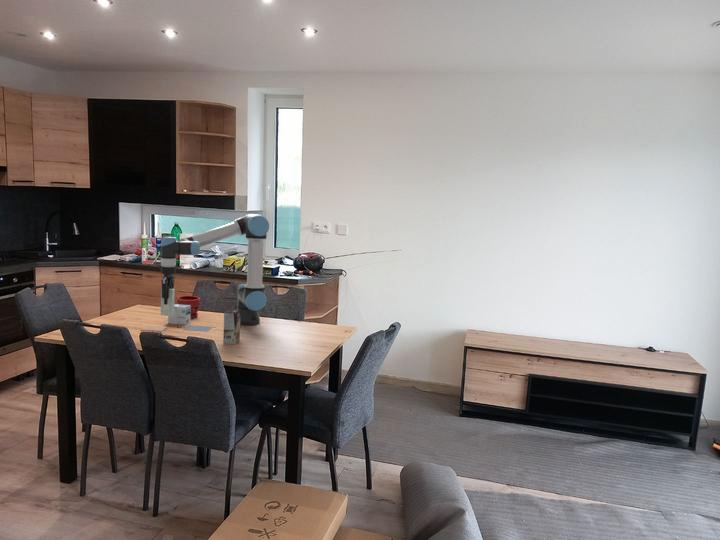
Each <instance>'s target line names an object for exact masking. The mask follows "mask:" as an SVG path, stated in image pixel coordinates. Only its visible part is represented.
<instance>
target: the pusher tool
mask: <svg viewBox="0 0 720 540" xmlns="http://www.w3.org/2000/svg"><path fill="white" fill-rule="evenodd" d="M175 293H176V292H175V288H174V289H169V311H166V310H163V308H164V298H162V288H161V289H160V316H163V317H166V316H167V317H168V316H173V315H174V304H175Z"/></svg>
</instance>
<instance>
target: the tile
mask: <svg viewBox="0 0 720 540" xmlns="http://www.w3.org/2000/svg"><path fill="white" fill-rule="evenodd" d="M167 329H168V326H162V325H161V326H159V325H145V326H144V327H142V328H140V332H141V331H156V332H155V333H159V332H161V333H164V331H166V330H167Z"/></svg>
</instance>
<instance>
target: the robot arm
mask: <svg viewBox="0 0 720 540" xmlns="http://www.w3.org/2000/svg"><path fill="white" fill-rule="evenodd" d="M269 230H270V222H269V220H268V219H267V218H266V217H265V216H264V215H262V214H258V213H257V214H255V213H249V214H245V215H244V216H241V217H239V218H236V219H234V220H233V221H232V222H231V223H230V222H229V223H228V224H225V225H221V226H218V227H216V228H212V229H209V230H207V231H204V232H200V233H198V234H194V235H191V236H189V237H186V238H180V239H178V240H177V237H175V236H163V237H161V239H160V240H161V241H160V242H161V243H160V259H159V261H160V265H161V266H160V273H161V274H162V275H163V277H162V279H161V280H160V281H161V289H162V298H164V308H163V310H166V311H169V289H175V278H176V277H175V276H174V274H177V273H176V272H177V271H176V270H177V268H176V266H177V256H198V255H199V254H200V250H201V249H200V248H204V247H206V246H209V245H212V244H214V243H217V242H220V241H223V240H227V239H229V238H233V237H236V236H243V235H245V240H247V267H246V268H247V270H246V271H247V272H246V283H245V284H243V283H242V284H240V283H239V284H238V286H237V309H236V310H241V314H240V325H241V324H246V325H245V326H250V325H249V324H254V325H258V324H260V323H259V322H261V318H260V314H259V312H258V311H260V310H262V309H263V308H264V307H265V306H266V304H267V300H268V299H267V296H266V292H265V291H266V289H265V288H266V286H265V285H264V284H263V273H264V272H263V271H264V268H263V267H264V243H265V241H266V240H267V236H268V232H269ZM257 323H258V324H257Z"/></svg>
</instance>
